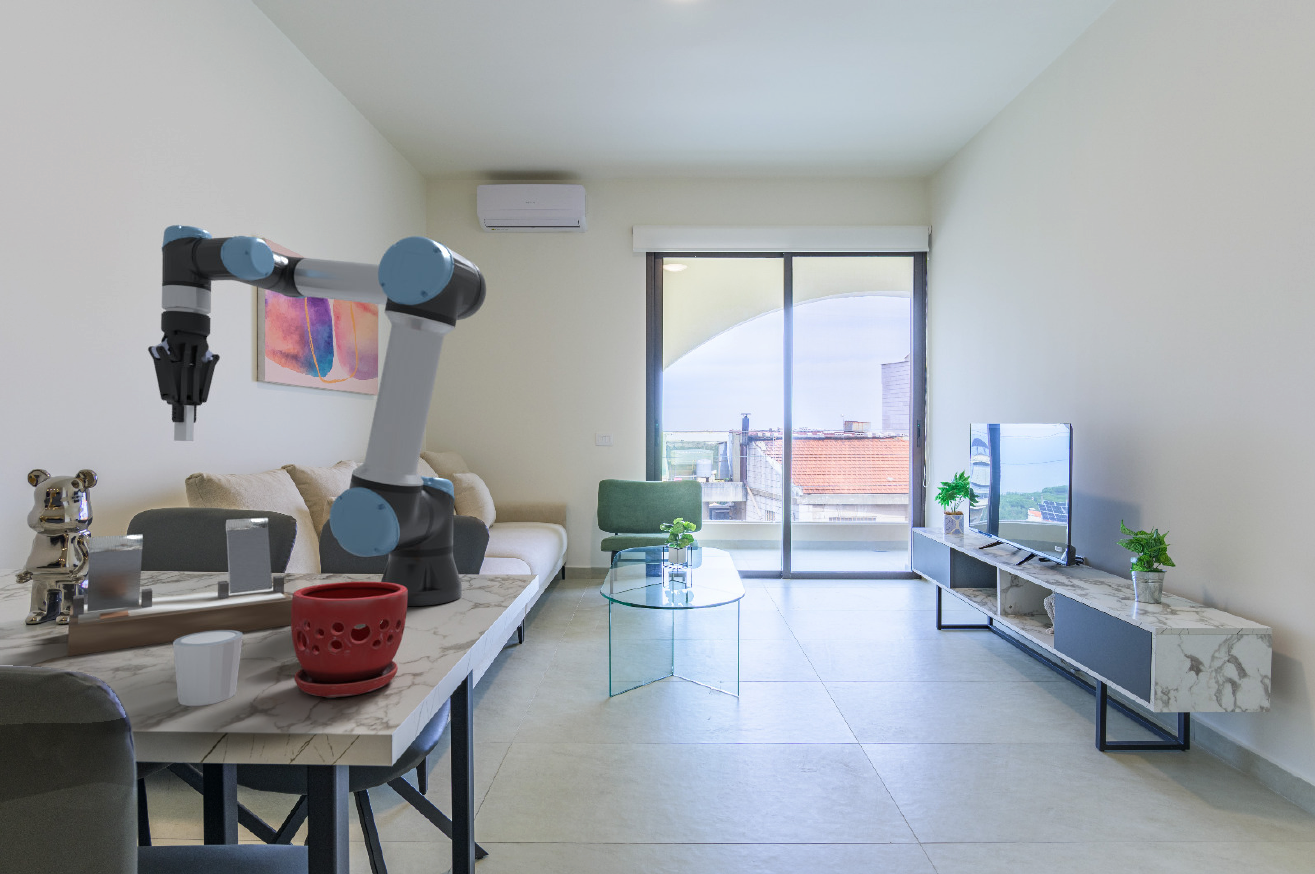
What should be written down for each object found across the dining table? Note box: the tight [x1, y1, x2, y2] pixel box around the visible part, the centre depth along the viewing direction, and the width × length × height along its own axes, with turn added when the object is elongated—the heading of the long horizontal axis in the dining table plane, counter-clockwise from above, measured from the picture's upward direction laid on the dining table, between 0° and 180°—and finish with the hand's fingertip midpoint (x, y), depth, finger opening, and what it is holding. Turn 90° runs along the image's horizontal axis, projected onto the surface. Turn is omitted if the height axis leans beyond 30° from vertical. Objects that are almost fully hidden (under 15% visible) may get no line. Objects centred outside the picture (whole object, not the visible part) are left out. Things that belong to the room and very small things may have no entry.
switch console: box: [67, 575, 293, 657], centre depth 109 cm, size 14×28×7 cm, turn 130°
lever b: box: [86, 533, 144, 612], centre depth 101 cm, size 2×6×12 cm, turn 129°
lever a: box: [225, 517, 273, 594], centre depth 117 cm, size 2×6×12 cm, turn 130°
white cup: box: [172, 630, 244, 707], centre depth 81 cm, size 7×7×7 cm
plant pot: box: [290, 581, 408, 699], centre depth 86 cm, size 13×13×12 cm
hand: (183, 440), depth 128 cm, fingers closed
